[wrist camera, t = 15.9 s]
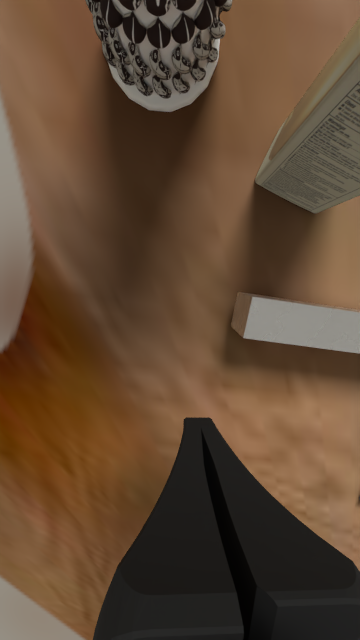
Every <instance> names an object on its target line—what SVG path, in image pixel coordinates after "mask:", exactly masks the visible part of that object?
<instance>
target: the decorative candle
mask: <svg viewBox="0 0 360 640" xmlns="http://www.w3.org/2000/svg"><path fill="white" fill-rule="evenodd" d="M85 1H86V3H87V6H88V8H89V10H90V11H91V13H92V14H93V23H94V28H95V31H96V33H97V35H98V37H99V39H100V40H101V42H102V49H103V54H104V57H105V59H106V60H107V62H108V64H109V67H110V70H111V73H112V76H113V78H114V80H115V81H116V82H117V84H118V85H119V86H120V87H121V89H122V90H123V91H124V93H125V94H126V95H127V96H128V98H129V99H131V100H132V101H134V102H136V103H138V104H139V105H141V106H143V107H144V108H146V109H148V110H151V111H163V112H173V111H175V110H178V109H180V108H182V107H185V106H187V105H190V104H192V103H193V101H194V100H195V99H196V98H197V97H198V96H199V95H200V94H201V93H202V92H203V91H204V90H205V89H206V88H207V87H208V84H209V82H210V79H211V77H212V75H213V72H214V70H215V67H216V65H217V63H218V57H219V44H220V39H221V38H223V37H224V35H225V25H224V24H223V23H222V22H221V21H220V17H219V15H220V13H221V12H222V11H226V12H227V11H229V10H230V8H231V5H232V0H85ZM218 12H219V13H218Z"/></svg>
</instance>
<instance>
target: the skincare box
mask: <svg viewBox="0 0 360 640" xmlns="http://www.w3.org/2000/svg"><path fill="white" fill-rule="evenodd" d="M255 182H256V183H257V184H258V185H260V186H262V187H264V188H265V189H267V190H269V191H271V192H273V193H274V194H276V195H278V196H280V197H282V198H284V199H286V200H288V201H290V202H292V203H294V204H296V205H298V206H300V207H302V208H304V209H306V210H308V211H310V212H312V213H319V212H321V211H323V210H326V209H328V208H331V207H333V206H335V205H338V204H340V203H343V202H345V201H347V200H350V199H352V198H355V197H357V196H359V195H360V18H359V19H358V20H357V22H356V23H355V25H354V26H353V27H352V29H351V30H350V31H349V33H348V34H347V36H346V37H345V38H344V40H343V41H342V43H341V44H340V45H339V47H338V48H337V50H336V51H335V52H334V54H333V55H332V56H331V58H330V59H329V61H328V62H327V63H326V65H325V66H324V68H323V69H322V70H321V72H320V73H319V75H318V76H317V77H316V79H315V80H314V82H313V83H312V84H311V86H310V87H309V89H308V90H307V91H306V93H305V94H304V95H303V97H302V98H301V100H300V101H299V102H298V104H297V105H296V107H295V108H294V109H293V111H292V112H291V114H290V115H289V116H288V118H287V119H286V120H285V122H284V123H283V125H282V126H281V127H280V129H279V131H278V133H277V135H276V137H275V139H274V140H273V142H272V144H271V147H270V149H269V151H268V153H267V155H266V157H265V159H264V161H263V163H262V165H261V167H260V169H259V171H258V174H257V176H256V178H255Z"/></svg>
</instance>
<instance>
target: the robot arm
mask: <svg viewBox="0 0 360 640" xmlns="http://www.w3.org/2000/svg"><path fill="white" fill-rule="evenodd" d="M93 640H360V571H359V570H358V569H357V567H356V566H355V564H354V563H353V561H352V560H350V559H349V558H347V557H346V556H345V555H343V554H342V553H341V552H339V551H338V550H337V549H335V548H334V547H333V546H331V545H330V544H329V543H327V542H326V541H325V540H323V539H322V538H320V537H319V536H318V535H317V534H315V533H314V532H313V531H312V530H310V529H309V528H308V527H307V526H306V525H304V524H303V523H302V522H301V521H299V520H298V519H297V518H296V517H295V516H294V515H292V514H291V513H290V512H289V511H288V510H287V509H286V508H285V507H284V506H283V505H281V504H280V503H279V502H278V501H277V500H276V499H275V498H274V497H273V496H272V495H271V494H270V493H269V492H268V491H267V490H266V489H265V488H264V487H263V486H262V485H261V484H260V483H259V482H258V481H257V480H256V479H255V478H254V476H253V475H252V474H251V473H250V472H249V471H248V470H247V468H246V467H245V466H244V465H243V464H242V462H241V461H240V460H239V459H238V457H237V456H236V455H235V454H234V452H233V451H232V449H231V448H230V447H229V445H228V444H227V443H226V441H225V440H224V438H223V437H222V435H221V434H220V432H219V431H218V429H217V428H216V426H215V424H214V423H213V421H212V419H211V418H185V419H184V428H183V435H182V440H181V443H180V447H179V451H178V454H177V457H176V460H175V462H174V465H173V468H172V471H171V473H170V475H169V478H168V480H167V482H166V485H165V487H164V489H163V491H162V493H161V495H160V497H159V499H158V501H157V503H156V505H155V507H154V509H153V511H152V512H151V514H150V516H149V518H148V519H147V521H146V523H145V524H144V526H143V528H142V530H141V531H140V533H139V535H138V536H137V538H136V539H135V541H134V542H133V544H132V545H131V547H130V548H129V550H128V551H127V553H126V554H125V556H124V557H123V559H122V560H121V562H120V563H119V565H118V567H117V569H116V572H115V574H114V577H113V579H112V581H111V584H110V586H109V589H108V591H107V594H106V597H105V599H104V602H103V605H102V608H101V611H100V614H99V617H98V621H97V625H96V628H95V633H94V637H93Z"/></svg>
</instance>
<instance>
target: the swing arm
mask: <svg viewBox="0 0 360 640" xmlns="http://www.w3.org/2000/svg"><path fill="white" fill-rule="evenodd" d="M231 327H232V328H233V329H234V330H235V331H236V332H238V333H239V334H240V335H241V336H242V337H243V338H246V339H254V340H261V341H269V342H276V343H284V344H291V345H299V346H306V347H314V348H321V349H329V350H336V351H344V352H351V353H359V354H360V310H358V309H352V308H345V307H338V306H331V305H325V304H318V303H311V302H304V301H297V300H291V299H284V298H277V297H270V296H264V295H257V294H250V293H243V292H238V293H237V298H236V303H235V308H234V312H233V317H232V322H231Z"/></svg>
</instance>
